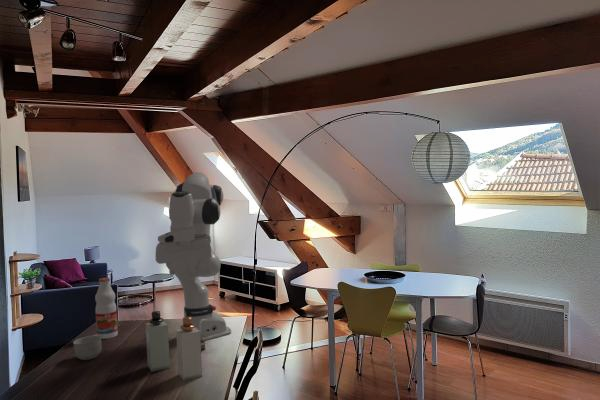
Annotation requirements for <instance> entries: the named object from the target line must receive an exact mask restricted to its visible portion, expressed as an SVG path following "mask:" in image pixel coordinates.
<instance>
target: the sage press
mask: <svg viewBox="0 0 600 400" xmlns="http://www.w3.org/2000/svg"><path fill="white" fill-rule="evenodd" d="M145 335H146V336H145V341H146V357H147V358H146V359H147V368H148V369H149V370H150V372H152V373H153V372H157V371H158V372H159V371H161V370H162V371H163V370H167V369H170V368H171V365H170V364H171V363H170V361H171V360H170V344H169V343H170V342H169V325H168V323H167V322H165V321H164V320H163V322H161V323H158V325H155V324H151V323H149V322H148V323H147V322H146V323H145Z"/></svg>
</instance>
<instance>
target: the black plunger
mask: <svg viewBox="0 0 600 400" xmlns="http://www.w3.org/2000/svg"><path fill="white" fill-rule="evenodd" d="M163 321H164V318H163V317H161V311H160V310H155V311H151V319H149V322H148V323H151V324H155V325H158V323H161V322H163Z"/></svg>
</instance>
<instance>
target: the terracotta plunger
mask: <svg viewBox="0 0 600 400" xmlns="http://www.w3.org/2000/svg"><path fill="white" fill-rule="evenodd" d="M194 328H195V325H194V324H192V317H184V316H183V317H182V325H180V329H181V330H186V332H188V331H190V329H194Z"/></svg>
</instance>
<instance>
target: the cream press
mask: <svg viewBox="0 0 600 400" xmlns="http://www.w3.org/2000/svg"><path fill="white" fill-rule="evenodd" d="M175 333H176V334H175V336H176V352H177V355H176V356H177V372H178V374H177V375H178V376H179V378H180V379H181V381H183V382H186V381H189V380H193V379H194V380H195V379H200V378H202V377H203V367H202V364H203V363H202V349H201V342H200V331H199V330H198V329H197V328H194V329H190V331H188V332H186V330H181V328H180V329H176V330H175Z"/></svg>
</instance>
